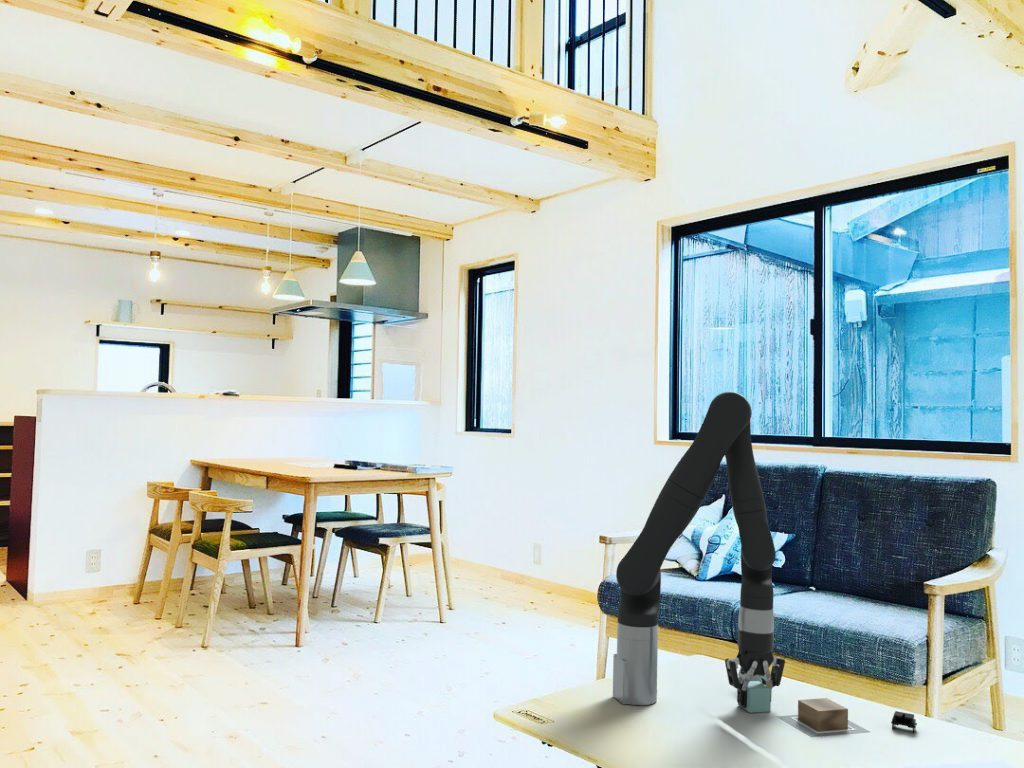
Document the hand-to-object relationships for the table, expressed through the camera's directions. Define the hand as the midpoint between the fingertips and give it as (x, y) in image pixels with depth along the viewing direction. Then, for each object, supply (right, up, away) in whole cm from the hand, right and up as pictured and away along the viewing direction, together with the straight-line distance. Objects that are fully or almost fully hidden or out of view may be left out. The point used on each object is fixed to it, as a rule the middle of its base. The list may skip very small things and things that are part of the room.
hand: (753, 705), depth 183 cm
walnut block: (+12, -1, -8) cm, 15 cm away
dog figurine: (+4, -3, +15) cm, 16 cm away
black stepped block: (+28, -3, -10) cm, 30 cm away
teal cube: (0, 0, 0) cm, 0 cm away
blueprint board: (+12, -2, -8) cm, 15 cm away
